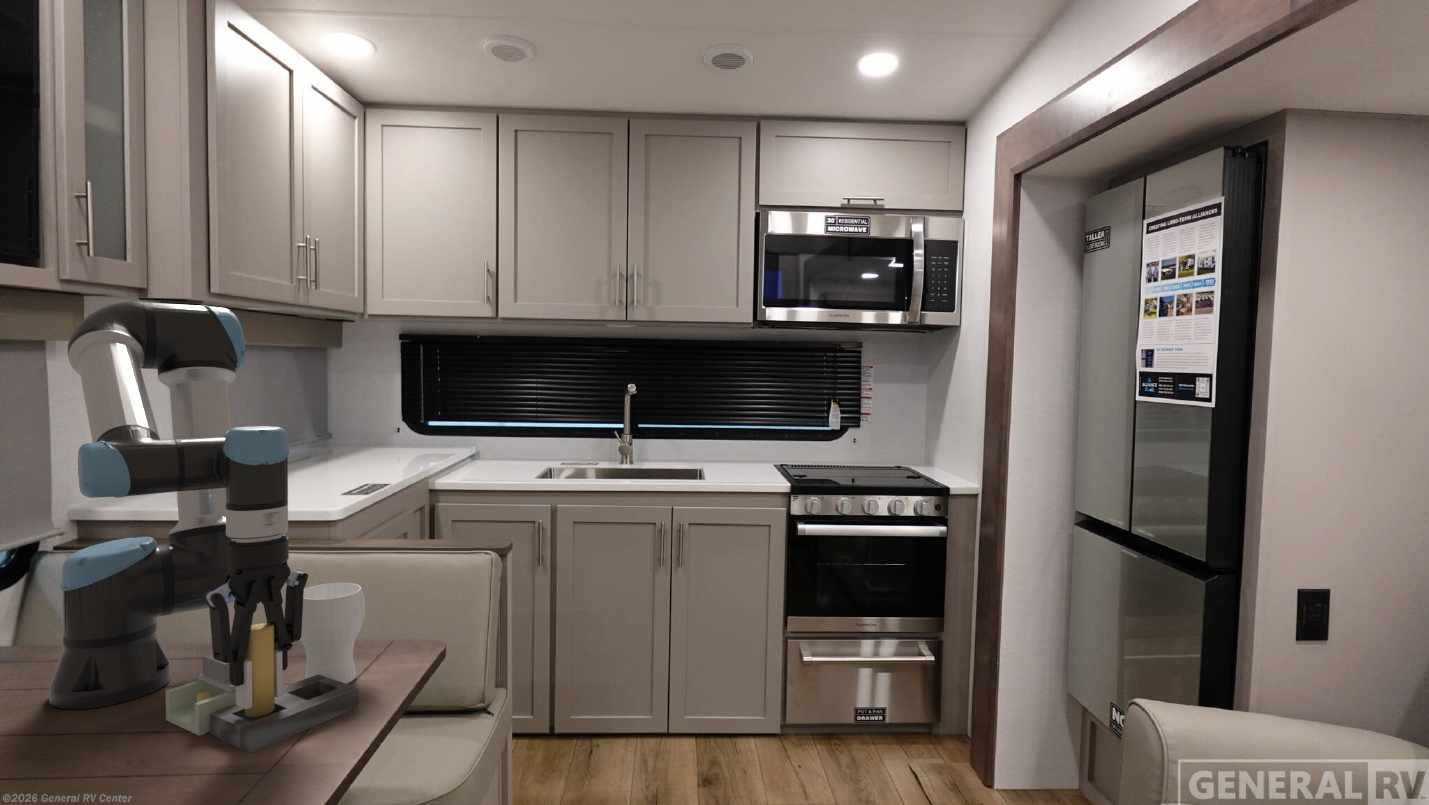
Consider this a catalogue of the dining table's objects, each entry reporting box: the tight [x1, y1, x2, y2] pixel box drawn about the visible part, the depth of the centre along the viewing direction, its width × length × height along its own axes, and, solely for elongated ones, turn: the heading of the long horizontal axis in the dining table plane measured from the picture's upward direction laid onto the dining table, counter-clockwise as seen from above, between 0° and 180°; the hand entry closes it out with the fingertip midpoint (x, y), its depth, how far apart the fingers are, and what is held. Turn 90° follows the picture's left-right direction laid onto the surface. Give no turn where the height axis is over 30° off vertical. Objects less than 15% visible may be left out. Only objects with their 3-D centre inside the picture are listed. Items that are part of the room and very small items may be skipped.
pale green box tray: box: [165, 679, 236, 736], centre depth 112 cm, size 9×11×4 cm
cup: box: [300, 582, 366, 684], centre depth 124 cm, size 11×11×15 cm
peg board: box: [210, 674, 359, 754], centre depth 110 cm, size 10×16×3 cm, turn 151°
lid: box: [197, 653, 236, 692], centre depth 113 cm, size 9×7×4 cm
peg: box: [245, 622, 275, 717], centre depth 106 cm, size 4×4×12 cm
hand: (259, 699), depth 106 cm, fingers closed on peg, 3 cm apart
